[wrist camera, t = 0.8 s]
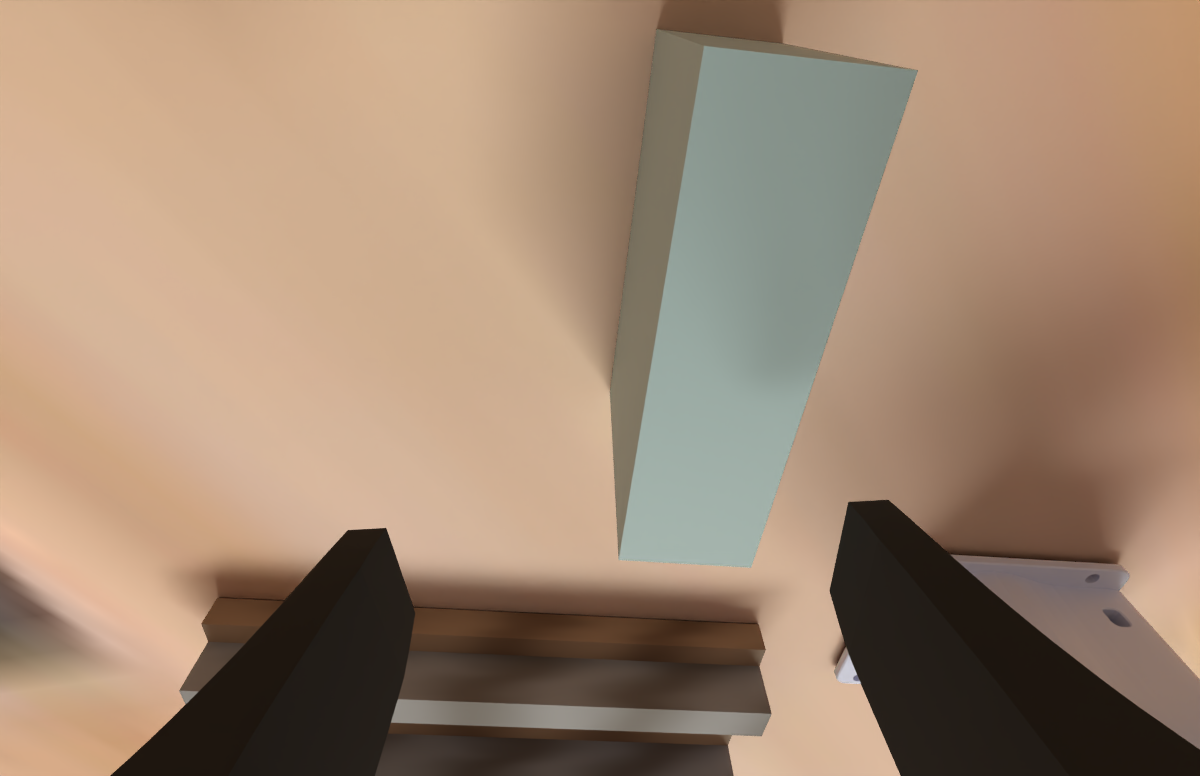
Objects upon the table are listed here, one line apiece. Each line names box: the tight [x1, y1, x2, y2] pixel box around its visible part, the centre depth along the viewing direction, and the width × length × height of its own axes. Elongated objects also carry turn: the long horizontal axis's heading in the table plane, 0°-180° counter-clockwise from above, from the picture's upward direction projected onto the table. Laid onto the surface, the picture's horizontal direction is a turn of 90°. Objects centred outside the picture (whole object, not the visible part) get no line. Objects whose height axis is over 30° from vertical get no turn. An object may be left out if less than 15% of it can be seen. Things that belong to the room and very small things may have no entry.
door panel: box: [610, 29, 918, 568], centre depth 14 cm, size 10×3×7 cm, turn 174°
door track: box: [179, 598, 771, 776], centre depth 26 cm, size 22×10×3 cm, turn 84°
